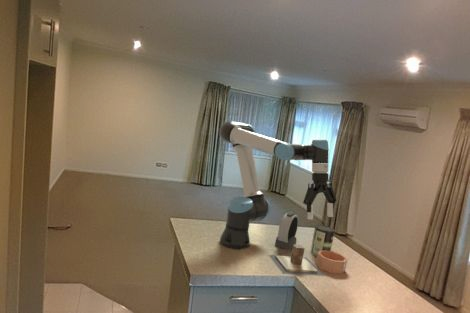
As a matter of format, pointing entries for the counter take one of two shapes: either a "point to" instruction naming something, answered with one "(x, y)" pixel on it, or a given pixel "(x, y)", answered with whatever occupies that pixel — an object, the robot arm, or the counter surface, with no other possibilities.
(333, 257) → the bowl
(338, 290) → the counter surface
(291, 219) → the alarm clock
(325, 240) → the coffee can
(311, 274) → the mat
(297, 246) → the lid
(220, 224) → the counter surface
